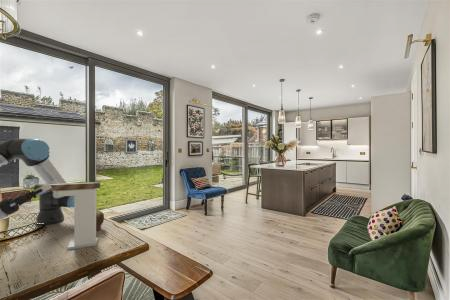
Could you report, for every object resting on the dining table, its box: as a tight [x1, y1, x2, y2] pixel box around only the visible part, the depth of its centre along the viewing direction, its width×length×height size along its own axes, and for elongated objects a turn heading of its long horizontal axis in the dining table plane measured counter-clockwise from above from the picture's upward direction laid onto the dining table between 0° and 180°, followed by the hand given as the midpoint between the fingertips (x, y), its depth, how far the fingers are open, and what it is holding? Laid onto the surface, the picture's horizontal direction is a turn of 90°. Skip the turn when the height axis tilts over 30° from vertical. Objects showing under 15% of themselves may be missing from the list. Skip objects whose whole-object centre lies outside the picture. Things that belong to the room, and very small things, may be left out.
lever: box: [33, 181, 101, 191], centre depth 116 cm, size 28×3×3 cm, turn 113°
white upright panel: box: [58, 188, 99, 250], centre depth 118 cm, size 17×8×30 cm, turn 114°
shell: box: [96, 210, 105, 232], centre depth 139 cm, size 11×11×12 cm
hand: (53, 183), depth 113 cm, fingers open, 11 cm apart
